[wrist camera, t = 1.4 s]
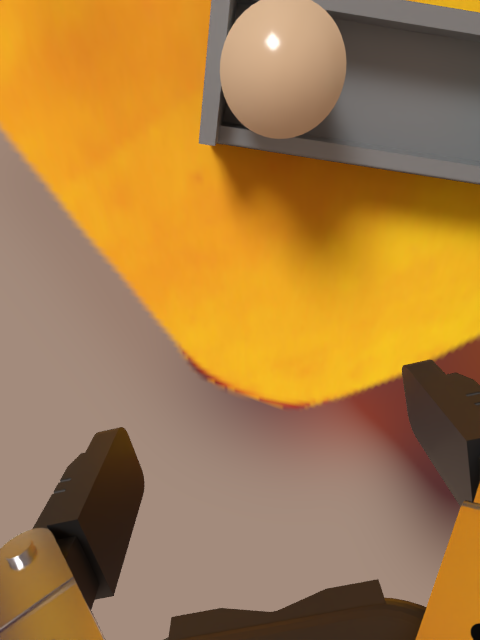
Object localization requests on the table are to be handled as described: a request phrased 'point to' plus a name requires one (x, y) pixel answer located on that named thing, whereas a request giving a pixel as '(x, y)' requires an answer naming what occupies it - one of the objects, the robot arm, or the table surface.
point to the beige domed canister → (283, 67)
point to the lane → (377, 90)
